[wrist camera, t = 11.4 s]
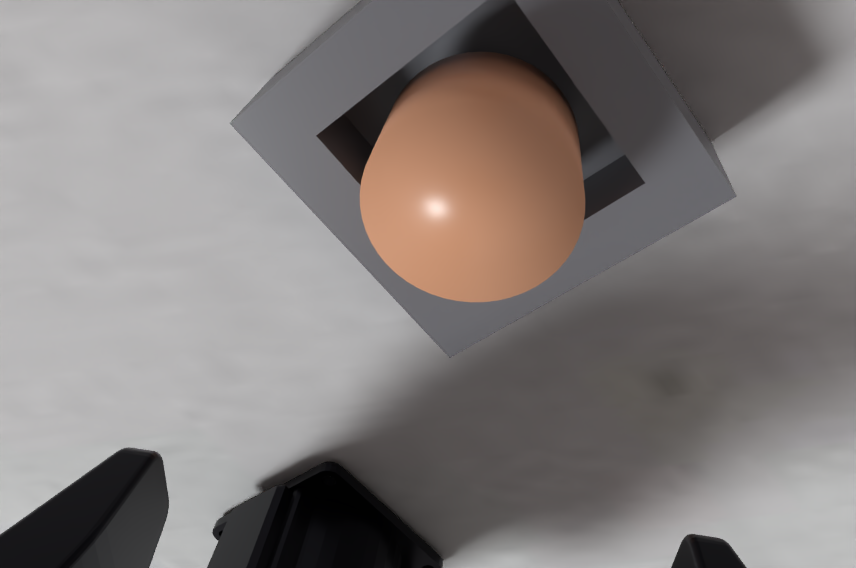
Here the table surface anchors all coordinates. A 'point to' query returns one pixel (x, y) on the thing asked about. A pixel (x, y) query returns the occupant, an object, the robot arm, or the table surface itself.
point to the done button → (476, 179)
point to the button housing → (535, 44)
